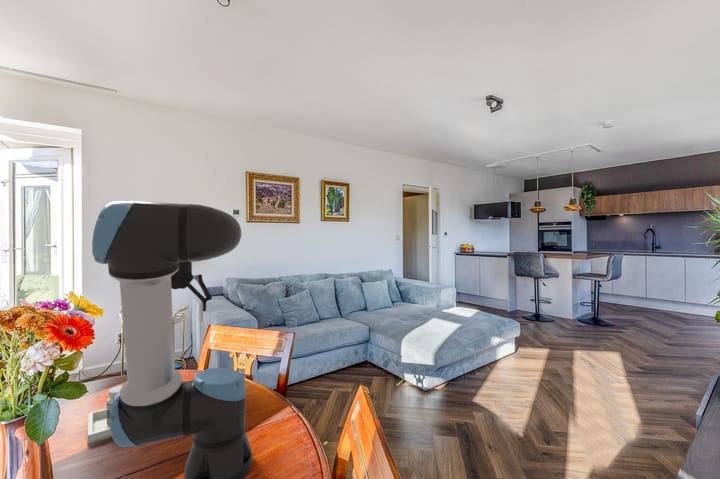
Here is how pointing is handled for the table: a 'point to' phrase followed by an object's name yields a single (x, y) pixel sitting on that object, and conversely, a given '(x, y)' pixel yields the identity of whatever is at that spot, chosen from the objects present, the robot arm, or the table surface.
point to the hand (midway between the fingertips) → (178, 324)
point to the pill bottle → (112, 394)
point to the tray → (98, 426)
